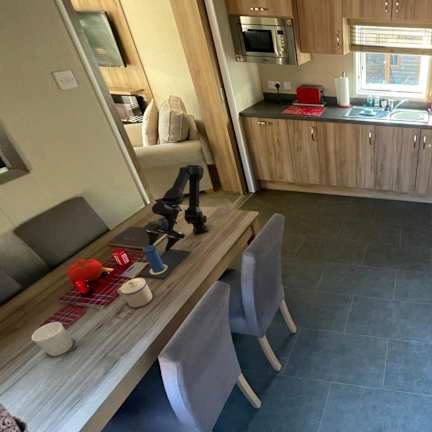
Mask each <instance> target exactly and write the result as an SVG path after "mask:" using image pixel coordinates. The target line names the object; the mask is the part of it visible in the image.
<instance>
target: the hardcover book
mask: <svg viewBox="0 0 432 432" xmlns="http://www.w3.org/2000/svg"><path fill="white" fill-rule="evenodd" d="M143 229H144V226H137V225H130V226H128V227H127V228H125V229H124V230H122V231H121V232H120V233H118V234H117V235H116V236H114V237H113V238H111V239H110V240H109V241H107V244H109V245H108V246H110V247H118V248H125V249H126V248H127V249H134V250H142V251H143V248H145V247H146V246H149V236H148V234H147V233H146V232H145V231H147V230H143ZM162 231H163V230H162ZM167 232H168V231H166V233H167ZM158 234H159V236H158V238H157V239H156V241H155V243H154V244H153V245H154V246H156V247H157V246H158V244H160V243H161V242H162V241H163V240H164V239H165V238H167V236H168V237H169V235H168V234H164V233H160V232H159V233H158Z"/></svg>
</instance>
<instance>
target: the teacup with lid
mask: <svg viewBox="0 0 432 432" xmlns="http://www.w3.org/2000/svg"><path fill="white" fill-rule="evenodd" d="M117 293H118V294H119V296H122V297H123V298H124V299H125V301H126V303H127V304H128V306H129V307H131V308H140V307H144V306H146V304H148V303H150V302H151V301H152V299H153V294H152V291H151V289H150V287H149V286H148V284H147V280H146V279H144V278H142V277H136V278H131V279H130V280H127V281H125V282H124V283H123V284H122V285H121V286H120V287H119V288H118V289H117Z"/></svg>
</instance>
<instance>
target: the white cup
mask: <svg viewBox="0 0 432 432" xmlns="http://www.w3.org/2000/svg"><path fill="white" fill-rule="evenodd" d="M31 340H32V341H33V342H34V343H35V344H36V345H37V346H38V347H40V349H42V350H43V351H44V352H46V353H47V354H48V355H49V356H52V357H56V356H57V357H58V356H60V355H63V354H65V353H66V352H68V351H69V350H70V349H71V348H72V347H73V345H74V341H73V340H72V339H71V336H70V334H69V333H68V332H67V330H66V328H65V327H64V326H63V324H62V323H61V322H59V321H53V322H49V323H46V324H44V325H42V326H40V327H39V328H37V329H36V330H34V332H33V333H32V335H31Z"/></svg>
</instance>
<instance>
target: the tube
mask: <svg viewBox="0 0 432 432" xmlns="http://www.w3.org/2000/svg"><path fill="white" fill-rule="evenodd" d="M157 249H158V248H157V245H156V246H154V245H149V246H146V247H145V248H143V250H142V252H143V254H144V256H145V258H146V260H147V262H148V264H149V266H151V268H152V271H153V272H154V273H158V272H161V271H163V270H164V269H165V266H164V265H163V263H162V261H161V258H160V256H161V255H160V254H159V252H158V250H157Z"/></svg>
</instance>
